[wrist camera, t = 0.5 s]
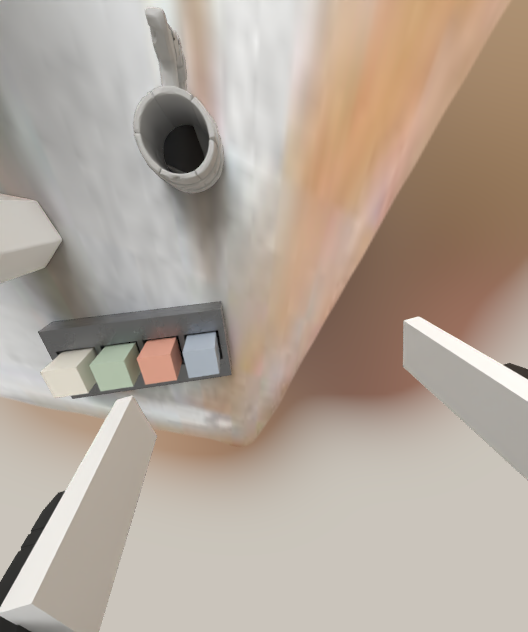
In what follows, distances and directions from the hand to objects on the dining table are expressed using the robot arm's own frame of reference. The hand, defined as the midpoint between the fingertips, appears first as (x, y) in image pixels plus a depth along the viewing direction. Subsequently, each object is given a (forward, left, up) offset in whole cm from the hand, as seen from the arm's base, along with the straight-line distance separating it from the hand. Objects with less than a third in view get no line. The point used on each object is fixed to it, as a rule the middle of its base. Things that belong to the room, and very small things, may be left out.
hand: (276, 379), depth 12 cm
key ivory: (-6, -25, -23) cm, 34 cm away
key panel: (-1, -18, -25) cm, 31 cm away
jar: (-21, -16, -25) cm, 37 cm away
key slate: (+4, -12, -23) cm, 26 cm away
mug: (-15, +6, -25) cm, 30 cm away
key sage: (-2, -21, -23) cm, 31 cm away
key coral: (+1, -16, -23) cm, 28 cm away
